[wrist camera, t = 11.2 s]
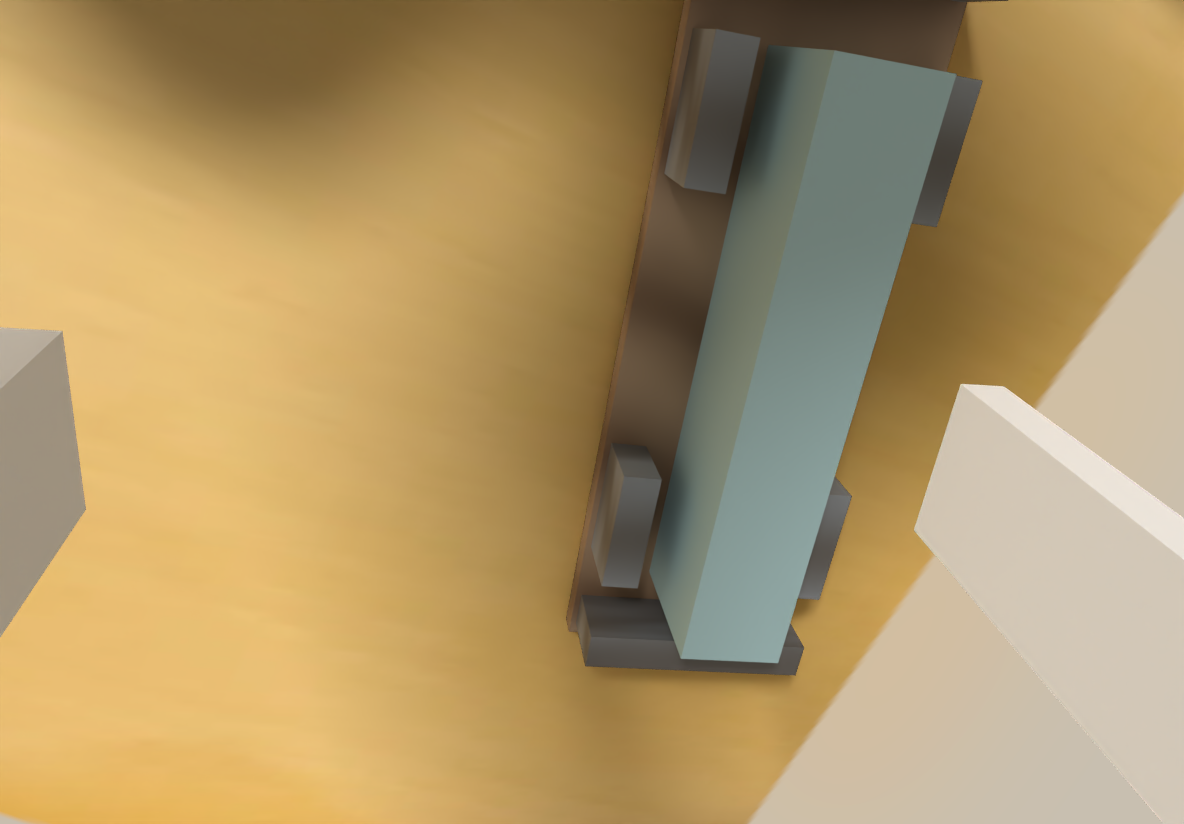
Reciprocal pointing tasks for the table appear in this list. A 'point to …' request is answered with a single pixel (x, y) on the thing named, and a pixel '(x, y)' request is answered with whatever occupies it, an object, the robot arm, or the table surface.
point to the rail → (789, 338)
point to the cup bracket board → (685, 284)
